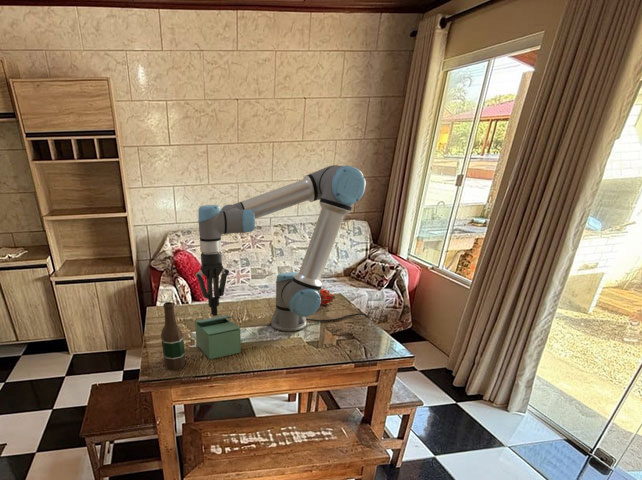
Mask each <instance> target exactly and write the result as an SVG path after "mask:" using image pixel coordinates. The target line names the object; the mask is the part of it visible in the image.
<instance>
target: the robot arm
mask: <svg viewBox="0 0 642 480" xmlns="http://www.w3.org/2000/svg"><path fill="white" fill-rule="evenodd" d="M365 191H366V178H365V176H364V173H363V172H362V171H361V170H360V169H358V168H357V167H355V166H352V165H339V164H333V165H328V166H326V167H324V168H321V169H318V170H316V171H313V172H312V173H309V174H306V175H304V176H303V178H302V179H301V180H298V181H295V182H292V183H289V184H287V185H284V186H280V187H278V188H276V189H273V190H270V191H266V192H264V193H261V194H259V195H256V196H253V197H250V198H247V199H244V200H241V201H240V202H239V201H238V202H235V203H233V204H225V205H224V206H222V207H220V205H218V204H205V205H200V206H199V207H198V210H197V212H198V213H197V215H198V220H197V221H198V233H199V246H200V247H199V249H200V252H201V253H200V264H201V267H200V270H199V271H197V272H195V273H194V276H195V277H196V279H197V280H198V284H199V287H200V290H201V294H202V296H203V297H204V298H205V299H207V303H208V307H209V308H210V314H211V315H212V316H213V317H217V316H218V307H219V306H220V298H221V297H223V296H224V294H225V289H226V283H227V278H228V276H229V274H230V270H229V269H227V268H225V267H224V265H223V253H222V250H223V249H222V235H226V234H227V235H228V234H247V233H252V232H253V231H254V230H255V227H256V220H257V219H260V218H261V217H265V216H267V215H269V214H270V215H271V214H273V213H276V212H279V211H281V210H285V209H287V208H291V207H293V206H296V205H299V204H302V203H305V202H309V203H313V202H316V201H319V202H318V203H319V205H320V208H321V209H320V212H319V215H318V218H317V221H316V223H315V225H314V229H313V231H312V234H311V237H310V240H309V243H308V246H307V249H306V252H305V255H304V257H303V260H302V263H301V266H300V269H299V271H295V272H294V271H288V272H282V273H279V274H277V276H276V278H275V279H276V281H275V309H274V311H273V314H272V316H271V320H270V325H271V327H272V328H273V329H274V330H277V331H281V332H297V331H298V332H299V331H302V330H303V329H305V328H306V326H307V321H311V322H333V321H334V322H335V321H340V320H342V319H345V318H349V317H354V316H365V317H366V318H369V317H370V316H369V315H368V314H366V313H364V312H363V313H362V312H360V313H353V314H346V315H343V316H340V317H337V318H330V319H315V318H306V317H310V316H311V315H313V314H315V313H316V312H318V310H319V308H320V306H321V305H322V304H321V298H320V295H319V293H320V290H321V289H323V288H322V287H323V283H322V282H321V280H322V276H323V273H324V271H325V268H326V265H327V263H328V260H329V257H330V255H331V252H332V250H333V247H334V244H335V242H336V239H337V237H338V234H339V231H340V228H341V226H342V223H343V220H344V218H345V217H346V215H348V214H351V212H352V210H353V207H354V204H356V203H357V202H359V201H360V200H361V199H362V197H363V195H364V194H365ZM203 276H204V277H205V281H206V283H205V281H204V279H203ZM219 280H220V281H219Z"/></svg>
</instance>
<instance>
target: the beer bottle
mask: <svg viewBox="0 0 642 480" xmlns="http://www.w3.org/2000/svg"><path fill="white" fill-rule="evenodd" d="M162 307H163V310H164V311H163V312H164V313H163V314H164V326H163V327H162V329H161V334H160V338H161V339H160V341H161V346H162V353H163V354H162V357H163V361H164V366H165V367H166V368H167V370H173V371H176V370H179V369H183V367H184V366H186V354H185V343H184V342H185V341H184V335H183V332H182V329H181V328H180V327H179V326H178V324H177V319H176V314H175V308H174V307H175V304H174V302H172V301H167V302H164V303H162Z"/></svg>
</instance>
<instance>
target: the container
mask: <svg viewBox="0 0 642 480" xmlns="http://www.w3.org/2000/svg"><path fill="white" fill-rule="evenodd" d="M194 328H195V329H194V330H195V340H196V346H197V347H198V348H199V349H200V350H201V352H203V354H204V355H205V356H206V358H208V359H209V360H213V359H217V358H218V359H219V358H223V357H227V356H231V355H235V354H241V352H242V344H241V343H242V342H241V340H242V339H241V337H242V336H241V327H240V326H239V325H237V323H235V322H234V321H230V320H229V318H226V319H221V320H216V321H211V322H206V323H197V322H194Z"/></svg>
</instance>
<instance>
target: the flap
mask: <svg viewBox="0 0 642 480" xmlns="http://www.w3.org/2000/svg"><path fill="white" fill-rule="evenodd" d="M226 318H227V319H231V318H233V316H231V315H226V314H223V315H219V316H218V315H217V316H213V317H208V318H203V319H197V320H194V323H206V322H211V321H216V320H221V319H226Z"/></svg>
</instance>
